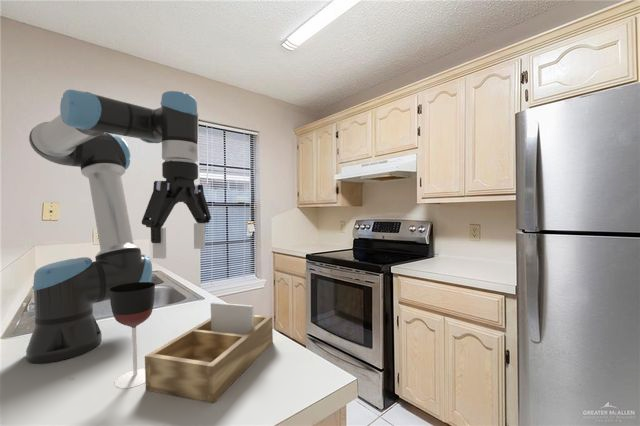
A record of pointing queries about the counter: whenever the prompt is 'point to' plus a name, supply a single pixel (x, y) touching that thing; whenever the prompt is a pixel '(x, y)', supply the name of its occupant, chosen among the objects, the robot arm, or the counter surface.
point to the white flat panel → (232, 318)
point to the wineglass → (132, 320)
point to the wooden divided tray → (205, 360)
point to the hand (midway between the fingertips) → (181, 253)
